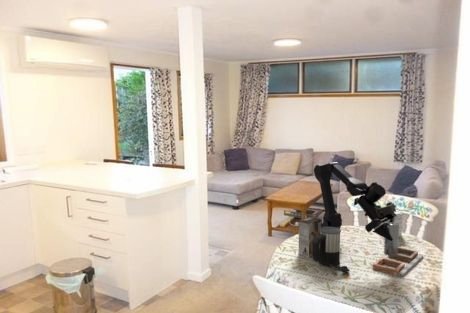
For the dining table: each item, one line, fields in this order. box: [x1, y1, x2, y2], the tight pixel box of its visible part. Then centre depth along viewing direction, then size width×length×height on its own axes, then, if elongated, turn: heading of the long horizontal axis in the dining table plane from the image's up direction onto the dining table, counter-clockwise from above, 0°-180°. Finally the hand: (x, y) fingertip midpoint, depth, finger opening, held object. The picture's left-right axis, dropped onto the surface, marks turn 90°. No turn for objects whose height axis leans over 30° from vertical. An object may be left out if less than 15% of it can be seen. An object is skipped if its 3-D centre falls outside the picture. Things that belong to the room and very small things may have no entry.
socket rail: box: [372, 246, 424, 278], centre depth 157 cm, size 27×12×2 cm, turn 137°
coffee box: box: [298, 216, 323, 259], centre depth 167 cm, size 9×6×16 cm
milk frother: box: [312, 227, 350, 274], centre depth 153 cm, size 14×16×15 cm
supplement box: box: [393, 210, 404, 238], centre depth 191 cm, size 7×7×13 cm
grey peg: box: [383, 222, 400, 256], centre depth 151 cm, size 5×5×12 cm
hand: (394, 238), depth 150 cm, fingers closed on grey peg, 5 cm apart
